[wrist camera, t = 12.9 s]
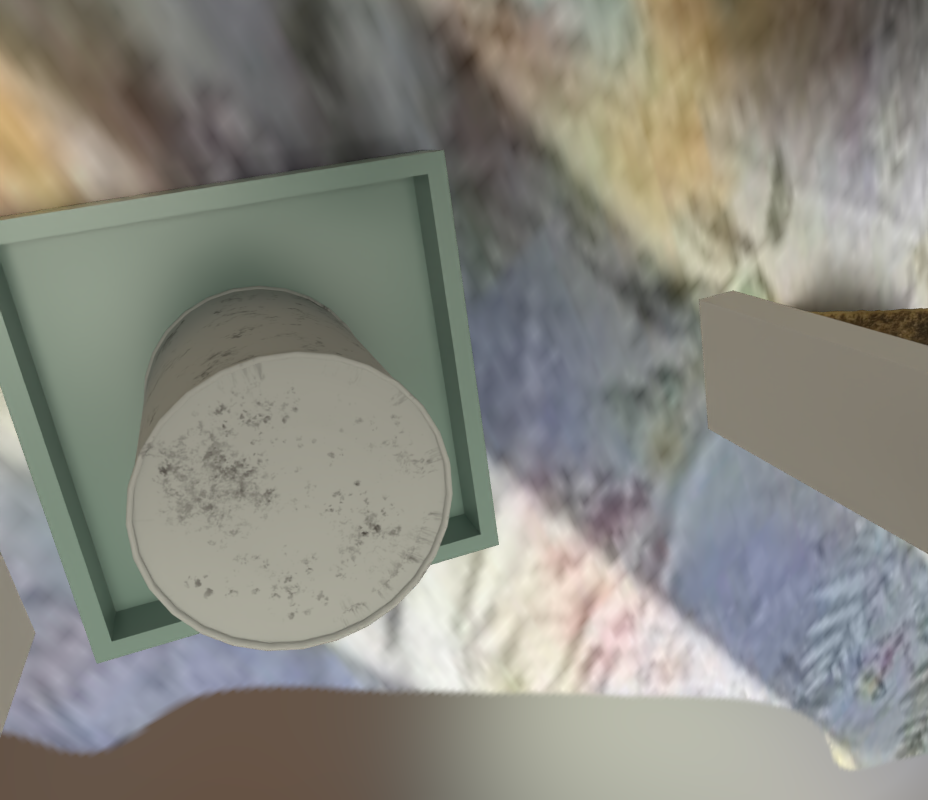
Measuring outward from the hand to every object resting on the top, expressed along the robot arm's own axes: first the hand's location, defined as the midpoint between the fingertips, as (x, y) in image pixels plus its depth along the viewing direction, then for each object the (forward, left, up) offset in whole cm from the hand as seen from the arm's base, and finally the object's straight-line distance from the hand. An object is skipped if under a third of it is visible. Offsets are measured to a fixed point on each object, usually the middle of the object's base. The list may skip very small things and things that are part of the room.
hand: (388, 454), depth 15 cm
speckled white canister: (+1, +5, -22) cm, 22 cm away
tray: (+1, +5, -22) cm, 23 cm away
